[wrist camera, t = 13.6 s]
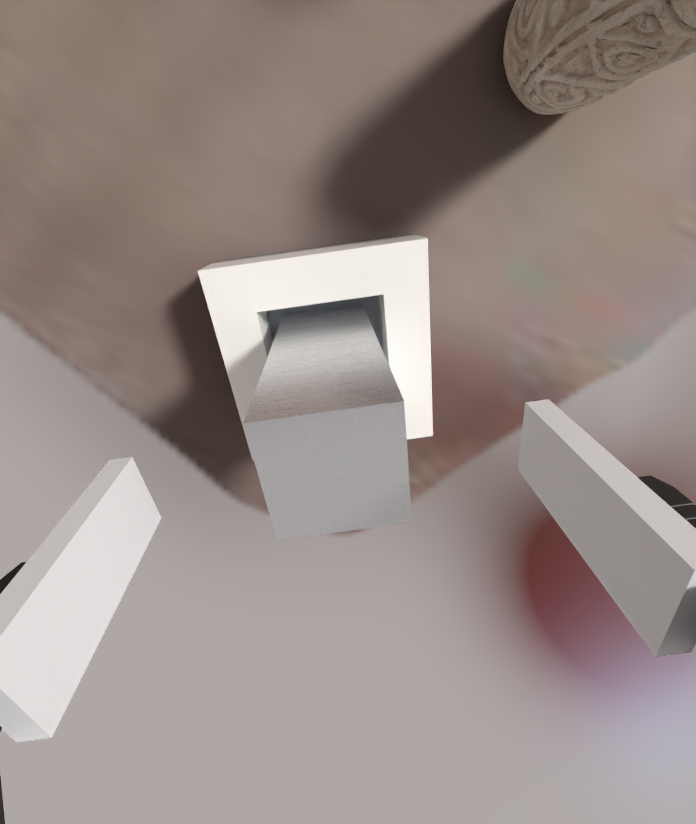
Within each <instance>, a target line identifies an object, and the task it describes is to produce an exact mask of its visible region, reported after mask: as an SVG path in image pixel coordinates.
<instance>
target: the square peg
mask: <svg viewBox="0 0 696 824" xmlns="http://www.w3.org/2000/svg"><path fill="white" fill-rule="evenodd" d="M243 424H244V427H245V431H246V434H247V438H248V441H249V445H250V448H251V452H252V455H253V459H254V462H255V466H256V469H257V472H258V476H259V479H260V483H261V486H262V490H263V493H264V497H265V500H266V504H267V507H268V511H269V514H270V518H271V521H272V524H273V528H274V531H275V535H276V538H277V540H285V539H293V538H300V537H307V536H314V535H322V534H329V533H336V532H344V531H351V530H358V529H365V528H373V527H379V526H387V525H394V524H401V523H409V522H412V518H411V517H412V516H411V500H410V485H409V469H408V453H407V438H406V422H405V407H404V399H403V397H402V395H401V392H400V390H399V388H398V385H397V383H396V381H395V378H394V376H393V374H392V371H391V369H390V367H389V364H388V362H387V360H386V358H385V355H384V353H383V351H382V348H381V346H380V344H379V341H378V339H377V337H376V334H375V332H374V330H373V327H372V325H371V323H370V320H369V318H368V316H367V313H366V311H365V309H364V306H363V304H362V303H361V304H354V305H347V306H340V307H333V308H326V309H318V310H311V311H304V312H297V313H290V314H283V316H282V319H281V322H280V324H279V327H278V330H277V333H276V335H275V338H274V341H273V344H272V346H271V349H270V352H269V354H268V357H267V360H266V363H265V365H264V368H263V371H262V374H261V376H260V379H259V382H258V385H257V387H256V390H255V393H254V395H253V398H252V401H251V404H250V406H249V409H248V412H247V415H246V417H245V420H244V423H243Z"/></svg>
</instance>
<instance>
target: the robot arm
mask: <svg viewBox="0 0 696 824" xmlns="http://www.w3.org/2000/svg"><path fill="white" fill-rule="evenodd" d="M518 470H519V471H520V472H521V474H522V475H523V476H524V478H525V479H526V481H527V482H528V483H529V485H530V486H531V488H532V489H533V490H534V492H535V493H536V494H537V496H538V497H539V498H540V500H541V501H542V503H543V504H544V505H545V507H546V508H547V509H548V511H549V512H550V514H551V515H552V516H553V518H554V519H555V520H556V522H557V523H558V524H559V526H560V527H561V528H562V530H563V531H564V533H565V534H566V535H567V537H568V538H569V540H571V542H572V544H573V545H574V546H575V548H576V549H577V550H578V552H579V553H580V555H581V556H582V557H583V559H584V560H585V561H586V563H587V564H588V566H589V567H590V568H591V569H592V571H593V572H594V574H595V575H596V576H597V578H598V579H599V580H600V582H601V583H602V585H603V586H604V587H605V589H606V590H607V591H608V593H609V594H610V596H611V597H612V598H613V600H614V601H615V602H616V604H617V605H618V607H619V608H620V609H621V611H622V612H623V613H624V615H625V616H626V617H627V618H628V620H629V621H630V623H631V624H632V626H633V627H634V628H635V630H636V631H637V632H638V634H639V635H640V636H641V638H642V639H643V641H644V642H645V643H646V645H647V646H648V647H649V649H650V650H651V652H652V653H653V654H654V656H655V657H659V656H666V655H674V654H681V653H689V652H691V651H692V649H693V647H694V646H695V643H696V505H693V504H692V502H691V501H690V500H689V499H688V498H687V497H685V496H684V495H683V494H682V493H680V492H679V491H678V490H677V489H676V488H674V487H672V486H670V485H668V484H666V483H664V482H662V481H660V480H658V479H656V478H654V477H652V476H644V477H636V476H635V475H634V474H633V473H632V472H631V471H629V470H628V469H627V468H626V467H625V466H624V465H623V464H621V463H620V462H619V461H618V460H617V459H616V458H615V457H613V456H612V455H611V454H610V453H609V452H608V451H607V450H606V449H604V448H603V447H602V446H601V445H600V444H599V443H598V442H596V441H595V440H594V439H593V438H592V437H591V436H590V435H588V434H587V433H586V432H585V431H584V430H583V429H582V428H580V427H579V426H578V425H577V424H576V423H575V422H574V421H572V420H571V419H570V418H569V417H568V416H567V415H566V414H565V413H563V412H562V411H561V410H560V409H559V408H558V407H557V406H555V405H554V404H553V403H552V402H551V401H550V400H549V399H548V400H540V401H533V402H526V403H525V411H524V420H523V429H522V439H521V449H520V457H519V466H518ZM160 520H161V516H160V514H159V512H158V509H157V507H156V505H155V503H154V501H153V499H152V497H151V495H150V493H149V491H148V489H147V486H146V485H145V483H144V480H143V478H142V476H141V474H140V472H139V470H138V468H137V466H136V463H135V461H134V459H133V457H127V458H120V459H113V460H109V461H108V462H107V464H106V465H105V466H104V467H103V469H102V470H101V471H100V472H99V473H98V475H97V476H96V477H95V478H94V480H93V481H92V482H91V483H90V485H89V486H88V487H87V488H86V489H85V491H84V492H83V493H82V495H81V496H80V497H79V498H78V499H77V501H76V502H75V503H74V504H73V505H72V507H71V508H70V509H69V510H68V512H67V513H66V514H65V515H64V517H63V518H62V519H61V520H60V522H59V523H58V524H57V525H56V526H55V528H54V529H53V530H52V531H51V533H50V534H49V535H48V536H47V538H46V539H45V540H44V541H43V542H42V544H41V545H40V546H39V547H38V548H37V550H36V551H35V552H34V553H33V555H32V556H31V557H30V558H29V560H28V561H27V562H23V563H20V564H19V565H18V566H17V567H15V568H14V569H13V570H12V571H11V572H9V573H8V574H7V575H6V576H4V577H3V578H2V579H1V580H0V731H1V729H2V730H3V731H4V732H5V733H7V734H8V735H9V736H10V737H11V738H12V739H14V740H15V741H16V742H23V741H30V740H37V739H45V738H52V736H53V734H54V732H55V730H56V728H57V726H58V724H59V722H60V720H61V718H62V716H63V714H64V712H65V710H66V708H67V706H68V704H69V702H70V700H71V698H72V696H73V694H74V692H75V690H76V688H77V686H78V684H79V682H80V680H81V678H82V676H83V674H84V672H85V670H86V668H87V666H88V664H89V662H90V660H91V658H92V656H93V654H94V652H95V650H96V648H97V646H98V644H99V642H100V640H101V638H102V636H103V634H104V632H105V630H106V628H107V626H108V624H109V622H110V620H111V618H112V616H113V614H114V612H115V610H116V608H117V606H118V604H119V602H120V600H121V598H122V596H123V594H124V592H125V590H126V588H127V586H128V584H129V582H130V580H131V578H132V576H133V574H134V572H135V570H136V568H137V566H138V564H139V562H140V560H141V558H142V556H143V554H144V552H145V550H146V548H147V546H148V544H149V542H150V540H151V538H152V536H153V534H154V532H155V530H156V528H157V526H158V524H159V522H160ZM0 824H5V820H4V809H3V800H2V788H1V778H0Z"/></svg>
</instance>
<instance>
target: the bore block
mask: <svg viewBox="0 0 696 824" xmlns="http://www.w3.org/2000/svg"><path fill="white" fill-rule="evenodd" d="M198 274H199V278H200V281H201V285H202V288H203V291H204V295H205V298H206V302H207V305H208V309H209V312H210V316H211V319H212V322H213V326H214V329H215V333H216V336H217V340H218V343H219V347H220V350H221V353H222V357H223V360H224V364H225V367H226V371H227V374H228V378H229V381H230V384H231V388H232V391H233V395H234V398H235V402H236V405H237V409H238V412H239V415H240V419H241V422H242V426H243V429H244V433H245V436H246V439H247V443H248V446H249V450H250V453H251V457H252V460H253V461H254V459H253V455H252V452H251V448H250V445H249V441H248V438H247V434H246V431H245V427H244V424H243V423H244V420H245V417H246V415H247V412H248V409H249V406H250V404H251V401H252V398H253V395H254V393H255V390H256V387H257V385H258V382H259V379H260V376H261V374H262V371H263V368H264V365H265V363H266V360H267V357H268V354H269V352H270V349H271V346H272V344H273V341H274V338H275V335H276V333H277V330H278V327H279V324H280V322H281V319H282V316H283V314H290V313H297V312H304V311H311V310H318V309H326V308H333V307H340V306H347V305H354V304H361V303H362V304H363V306H364V309H365V311H366V313H367V316H368V318H369V320H370V323H371V325H372V327H373V330H374V332H375V334H376V337H377V339H378V341H379V344H380V346H381V348H382V351H383V353H384V355H385V358H386V360H387V362H388V364H389V367H390V369H391V371H392V374H393V376H394V378H395V381H396V383H397V385H398V388H399V390H400V392H401V395H402V397H403V399H404V407H405V422H406V438H407V439H414V438H421V437H428V436H433V419H432V382H431V344H430V307H429V269H428V238H425V237H421V236H417V235H414V234H408V235H401V236H394V237H387V238H380V239H373V240H365V241H358V242H351V243H344V244H337V245H330V246H323V247H316V248H309V249H302V250H295V251H287V252H280V253H273V254H266V255H259V256H252V257H245V258H238V259H231V260H224V261H216V262H214V263H212V264H210V265H208V266H206V267H204V268H202V269H200V270H198Z"/></svg>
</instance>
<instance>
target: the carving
mask: <svg viewBox="0 0 696 824" xmlns="http://www.w3.org/2000/svg"><path fill="white" fill-rule="evenodd" d="M694 52H696V0H516V2H515V4H514V7H513V9H512V12H511V15H510V18H509V21H508V25H507V29H506V34H505V41H504V52H503V62H504V67H505V71H506V76H507V79H508V81H509V84H510V87H511V89H512V90H513V92H514V93H515V95H516V96H517V98H518V99H519V100H520V101H521V103H522V104H523V105H524V106H526V107H527V108H528V109H530V110H531V111H532V112H534V113H538V114H544V115H550V114H562V113H566V112H570V111H574V110H577V109H579V108H581V107H584V106H586V105H589V104H592V103H595V102H597V101H599V100H601V99H602V97H603V96H604V95H609V94H614V93H616V92H617V91H619V90H620V89H621V88H623V87H626V86H628V85H629V84H631V83H632V82H633V81H634V80H636V79H639V78H641V77H644V76H645V75H647V74H649V73H651V72H653V71H655V70H657V69H660V68H662V67H664V66H667V65H669V64H671V63H673V62H676V61H678V60H680V59H682V58H684V57H686V56H688V55H690V54H692V53H694Z"/></svg>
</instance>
